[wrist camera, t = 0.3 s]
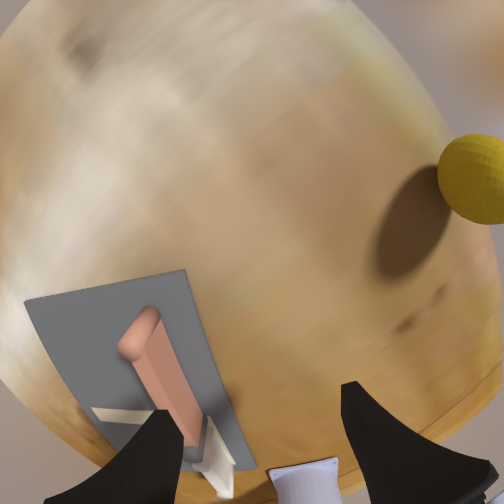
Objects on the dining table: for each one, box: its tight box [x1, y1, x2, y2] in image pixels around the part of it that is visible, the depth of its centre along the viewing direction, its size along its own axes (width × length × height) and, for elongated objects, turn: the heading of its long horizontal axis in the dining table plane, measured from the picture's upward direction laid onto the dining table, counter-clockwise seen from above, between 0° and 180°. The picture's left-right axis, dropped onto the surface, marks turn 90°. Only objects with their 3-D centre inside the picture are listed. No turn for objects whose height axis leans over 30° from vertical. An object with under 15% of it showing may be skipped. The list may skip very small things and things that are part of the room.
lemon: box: [437, 134, 504, 225], centre depth 12 cm, size 6×6×8 cm
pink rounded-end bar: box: [117, 306, 208, 464], centre depth 16 cm, size 12×2×4 cm, turn 12°
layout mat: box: [24, 269, 258, 499], centre depth 18 cm, size 24×16×5 cm, turn 12°
